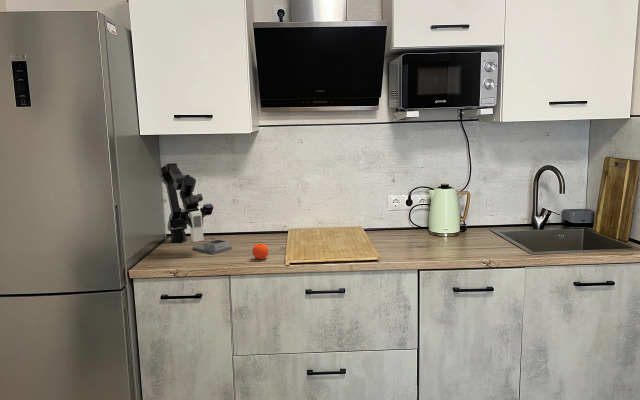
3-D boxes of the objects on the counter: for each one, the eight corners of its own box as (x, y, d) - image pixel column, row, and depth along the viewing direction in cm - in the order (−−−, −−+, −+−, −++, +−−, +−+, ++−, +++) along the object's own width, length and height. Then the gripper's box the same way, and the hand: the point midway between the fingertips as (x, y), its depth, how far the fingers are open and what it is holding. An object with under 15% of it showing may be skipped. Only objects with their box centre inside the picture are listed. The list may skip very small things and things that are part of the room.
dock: (192, 249, 234) (191, 240, 233) (211, 244, 242) (211, 236, 241) (212, 254, 223) (211, 245, 223) (232, 249, 231) (231, 240, 231)
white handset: (191, 240, 224) (188, 212, 222) (200, 238, 226) (198, 210, 224) (194, 241, 220) (191, 213, 218) (203, 240, 222) (201, 212, 220)
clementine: (251, 257, 215) (250, 241, 214) (266, 255, 217) (265, 239, 216) (254, 262, 208) (253, 245, 207) (270, 260, 210) (269, 243, 209)
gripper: (169, 190, 218) (178, 218, 210) (210, 186, 227) (220, 212, 220) (166, 206, 226) (175, 233, 218) (206, 201, 235) (215, 227, 228)
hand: (197, 226), depth 221 cm, fingers closed on white handset, 4 cm apart
